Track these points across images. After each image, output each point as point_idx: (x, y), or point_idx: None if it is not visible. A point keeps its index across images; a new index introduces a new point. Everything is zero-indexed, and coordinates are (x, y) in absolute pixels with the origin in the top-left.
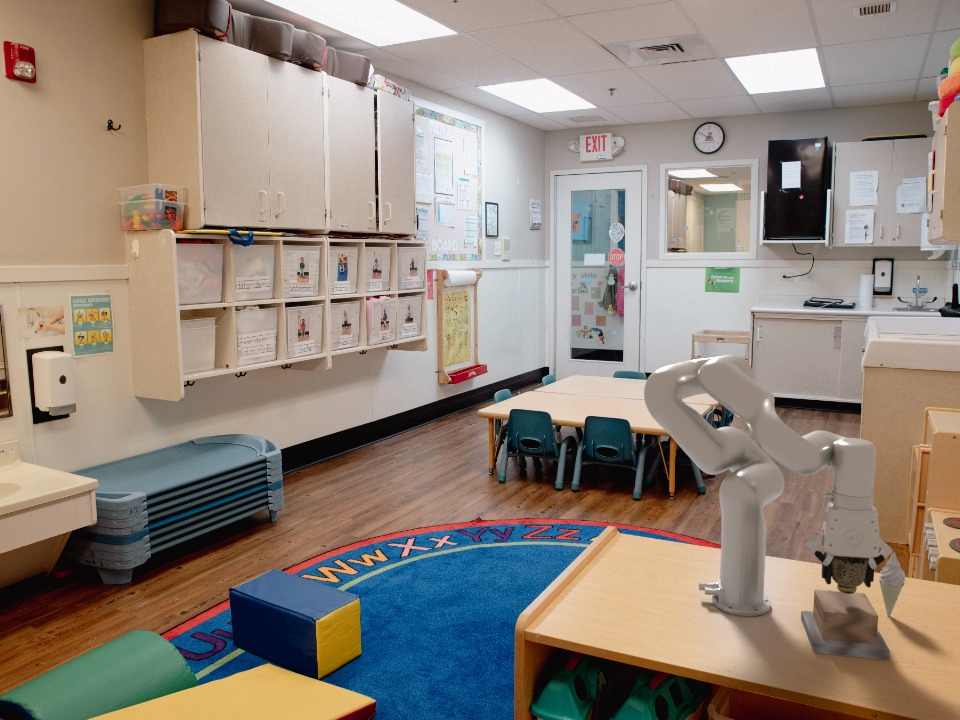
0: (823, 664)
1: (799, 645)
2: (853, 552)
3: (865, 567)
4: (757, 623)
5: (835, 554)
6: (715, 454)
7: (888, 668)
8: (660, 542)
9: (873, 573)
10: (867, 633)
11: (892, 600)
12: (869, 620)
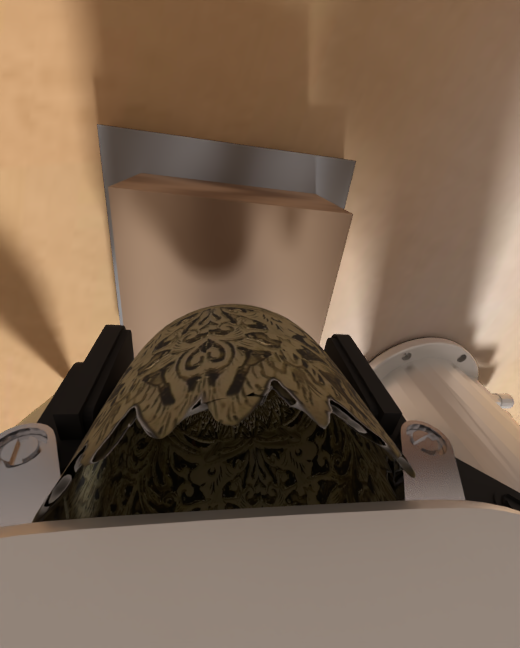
0: (344, 76)
1: (365, 204)
2: (264, 604)
3: (108, 409)
4: (417, 311)
5: (486, 520)
6: None
7: (122, 55)
8: None
9: (54, 402)
10: (168, 181)
11: (42, 410)
12: (154, 188)
